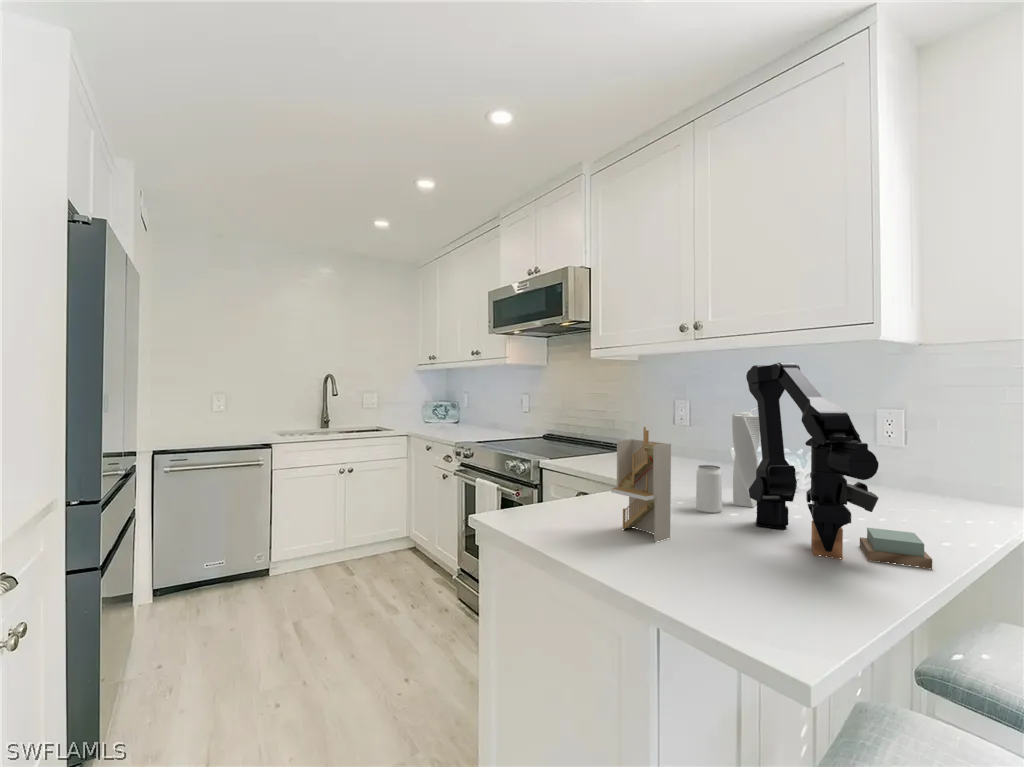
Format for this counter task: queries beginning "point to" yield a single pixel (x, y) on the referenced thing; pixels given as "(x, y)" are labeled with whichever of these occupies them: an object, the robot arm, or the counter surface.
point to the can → (709, 489)
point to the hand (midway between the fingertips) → (826, 546)
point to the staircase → (645, 484)
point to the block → (819, 548)
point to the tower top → (895, 542)
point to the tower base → (894, 556)
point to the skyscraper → (745, 456)
